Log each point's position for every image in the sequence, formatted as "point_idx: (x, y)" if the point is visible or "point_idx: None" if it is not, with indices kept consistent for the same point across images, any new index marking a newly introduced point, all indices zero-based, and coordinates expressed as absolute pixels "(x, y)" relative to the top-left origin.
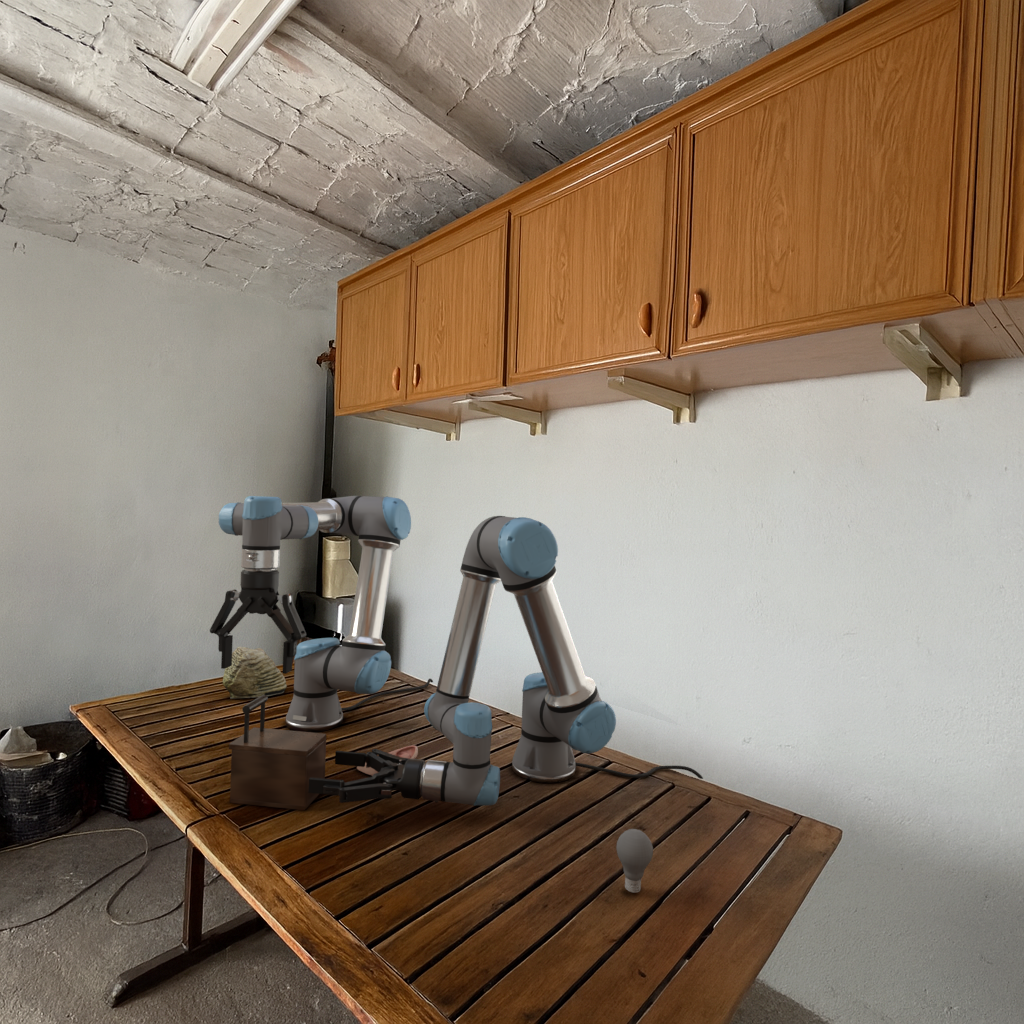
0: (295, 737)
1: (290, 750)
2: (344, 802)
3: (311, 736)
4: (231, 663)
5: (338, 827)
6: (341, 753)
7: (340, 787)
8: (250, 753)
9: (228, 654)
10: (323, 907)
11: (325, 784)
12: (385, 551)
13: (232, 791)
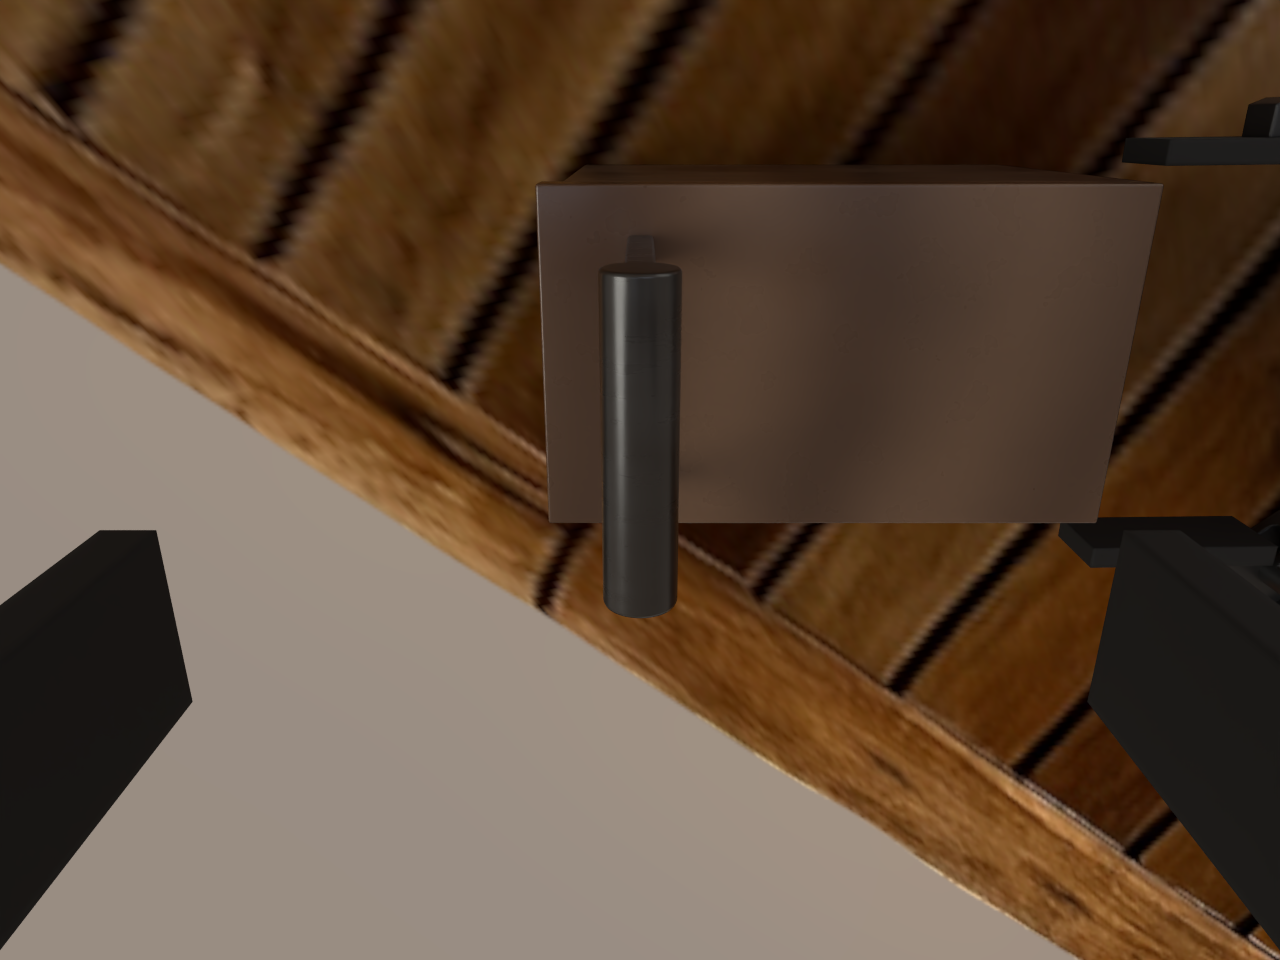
0: (945, 316)
1: (983, 522)
2: None
3: (1060, 271)
4: (142, 555)
5: (1155, 511)
6: (1206, 163)
7: (1264, 582)
8: None
9: (60, 747)
10: (1195, 904)
11: None
12: None
13: None
